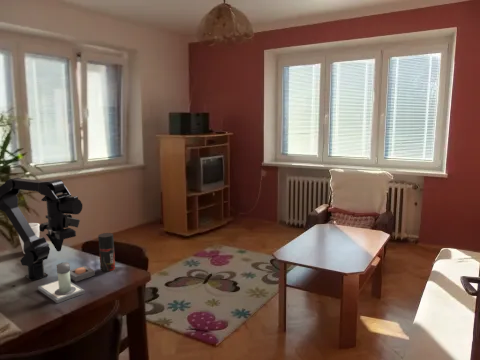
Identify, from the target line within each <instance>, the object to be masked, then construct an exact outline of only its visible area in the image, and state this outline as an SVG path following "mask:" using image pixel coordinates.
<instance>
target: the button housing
mask: <svg viewBox="0 0 480 360" xmlns="http://www.w3.org/2000/svg"><path fill="white" fill-rule="evenodd" d="M77 268H85V269H86V272H84V273H81V274H78V275H77V274H76V273H75V269H77ZM95 273H96V271H95V270H94V269H92V268H90V267H89V266H86V265H83V266H80V267H76V268H73V269H70V280H72V281H73V282H79V281H82V280H85V279H88V278H91V277H94V276H95V275H96V274H95Z"/></svg>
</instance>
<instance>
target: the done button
mask: <svg viewBox="0 0 480 360" xmlns="http://www.w3.org/2000/svg"><path fill="white" fill-rule="evenodd" d="M76 268H77V269H76ZM76 268H74V269H75V273H76V274H77V275H78V274H81V273H84V272H86V269H85V268H79V267H76Z"/></svg>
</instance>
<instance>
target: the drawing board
mask: <svg viewBox="0 0 480 360" xmlns="http://www.w3.org/2000/svg"><path fill="white" fill-rule="evenodd" d="M37 290H38V291H39V292H40V293H42V294H43V295H45V296H46V297H48V298H49V299H51V300H52V301H54V302H55V303H56V304H59V303H62V302H64V301H67V300H70V299H73V298H76V297H78V296H81V295H83V294H86V292H85V289H83V288H82V287H80V286H79V285H77V284H75V283H73V282H72V281H71V291H70V292H67V293H60V292H59V283H58V279H57V280H54V281H51V282H48V283H45V284H43V285H38V287H37Z"/></svg>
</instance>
